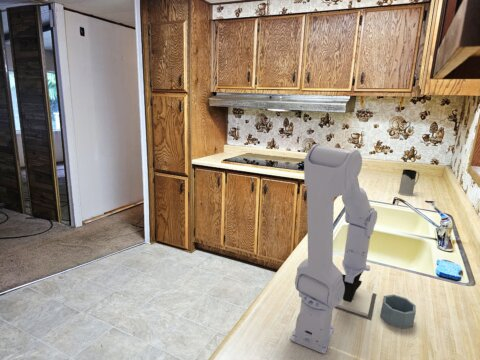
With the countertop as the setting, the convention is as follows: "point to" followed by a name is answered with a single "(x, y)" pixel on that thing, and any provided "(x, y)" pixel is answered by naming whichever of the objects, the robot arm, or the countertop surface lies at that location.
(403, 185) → the gray black pitcher
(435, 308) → the countertop surface
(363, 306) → the cover
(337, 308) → the mat
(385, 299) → the bowl
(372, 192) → the countertop surface
